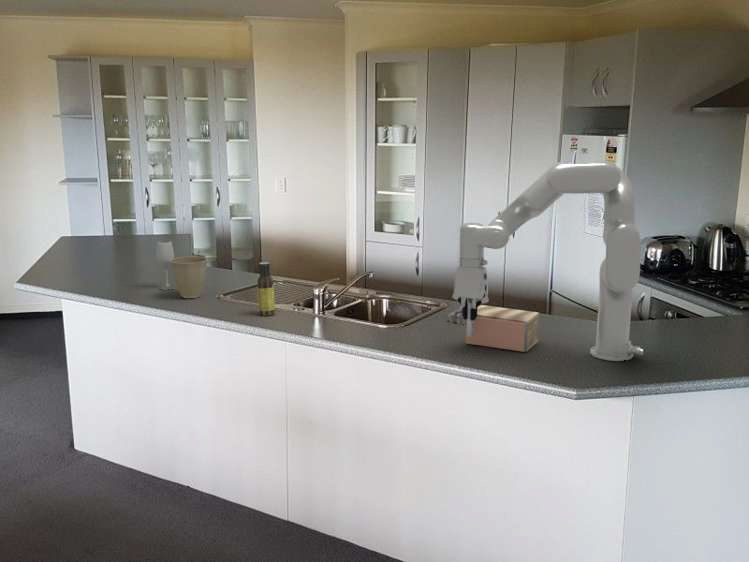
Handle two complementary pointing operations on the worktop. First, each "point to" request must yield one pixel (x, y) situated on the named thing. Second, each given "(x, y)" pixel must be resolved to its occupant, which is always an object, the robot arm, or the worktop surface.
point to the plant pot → (189, 274)
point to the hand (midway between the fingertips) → (469, 318)
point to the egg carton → (457, 316)
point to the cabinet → (513, 319)
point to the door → (496, 333)
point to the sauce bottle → (265, 290)
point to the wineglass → (164, 255)
